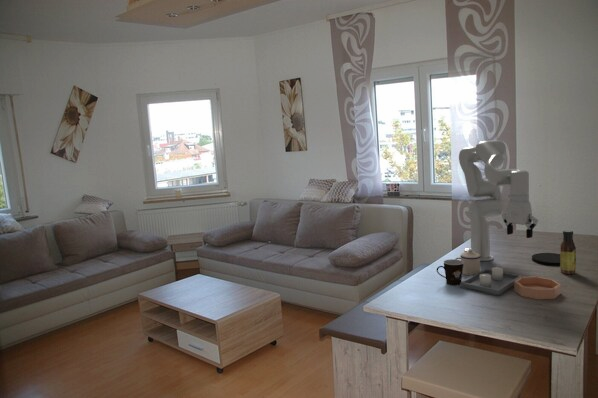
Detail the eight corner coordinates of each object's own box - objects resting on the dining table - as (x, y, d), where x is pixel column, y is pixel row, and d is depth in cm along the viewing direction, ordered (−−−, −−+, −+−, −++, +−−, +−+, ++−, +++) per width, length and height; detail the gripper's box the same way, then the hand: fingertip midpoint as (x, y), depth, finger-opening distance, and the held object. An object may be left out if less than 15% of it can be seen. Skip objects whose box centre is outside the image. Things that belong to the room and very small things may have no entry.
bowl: (509, 293, 190) (509, 284, 189) (524, 282, 200) (524, 274, 200) (550, 302, 178) (550, 292, 177) (564, 290, 189) (564, 281, 188)
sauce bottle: (577, 274, 206) (579, 232, 203) (563, 274, 207) (563, 232, 204) (572, 270, 212) (573, 229, 209) (557, 270, 214) (558, 229, 211)
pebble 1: (477, 286, 198) (477, 275, 197) (482, 283, 201) (482, 273, 200) (488, 288, 194) (487, 277, 193) (492, 285, 197) (492, 274, 196)
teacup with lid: (482, 271, 220) (481, 248, 218) (478, 276, 212) (478, 252, 211) (456, 268, 226) (456, 246, 224) (452, 274, 218) (452, 250, 217)
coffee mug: (463, 280, 209) (463, 259, 207) (464, 286, 201) (463, 265, 199) (437, 279, 213) (437, 259, 211) (436, 285, 204) (436, 264, 203)
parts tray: (460, 287, 200) (460, 282, 199) (485, 273, 216) (485, 268, 215) (498, 296, 187) (498, 290, 187) (522, 280, 203) (522, 275, 203)
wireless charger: (533, 265, 224) (533, 261, 224) (530, 255, 240) (530, 252, 240) (575, 267, 217) (575, 263, 217) (568, 257, 234) (568, 253, 233)
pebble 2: (490, 279, 206) (490, 268, 205) (494, 276, 209) (494, 266, 208) (500, 281, 202) (500, 270, 201) (504, 278, 205) (504, 268, 204)
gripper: (497, 197, 206) (497, 234, 209) (531, 201, 191) (531, 240, 193) (508, 195, 210) (508, 231, 212) (543, 198, 194) (542, 237, 197)
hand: (519, 235), depth 203 cm, fingers open, 9 cm apart
